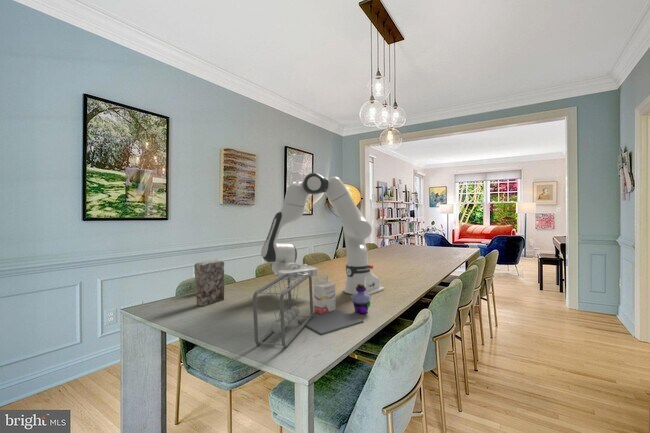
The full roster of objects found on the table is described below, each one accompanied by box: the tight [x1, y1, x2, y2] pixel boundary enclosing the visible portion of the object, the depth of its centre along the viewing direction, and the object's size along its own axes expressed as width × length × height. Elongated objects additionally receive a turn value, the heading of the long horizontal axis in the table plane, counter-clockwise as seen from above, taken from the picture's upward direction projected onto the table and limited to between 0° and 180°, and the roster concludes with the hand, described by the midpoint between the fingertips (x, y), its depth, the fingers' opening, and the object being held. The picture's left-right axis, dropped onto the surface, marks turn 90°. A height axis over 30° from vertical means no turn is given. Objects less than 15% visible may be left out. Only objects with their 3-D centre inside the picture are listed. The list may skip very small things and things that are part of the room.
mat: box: [297, 309, 365, 336], centre depth 120 cm, size 20×16×1 cm
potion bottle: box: [350, 284, 372, 315], centre depth 131 cm, size 9×9×12 cm
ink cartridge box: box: [313, 275, 336, 315], centre depth 133 cm, size 9×5×15 cm, turn 134°
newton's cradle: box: [252, 273, 314, 348], centre depth 112 cm, size 30×10×18 cm, turn 165°
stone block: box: [193, 259, 225, 307], centre depth 149 cm, size 13×7×20 cm, turn 153°
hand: (306, 276), depth 145 cm, fingers closed
